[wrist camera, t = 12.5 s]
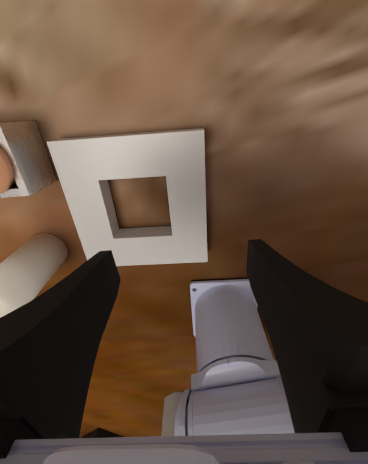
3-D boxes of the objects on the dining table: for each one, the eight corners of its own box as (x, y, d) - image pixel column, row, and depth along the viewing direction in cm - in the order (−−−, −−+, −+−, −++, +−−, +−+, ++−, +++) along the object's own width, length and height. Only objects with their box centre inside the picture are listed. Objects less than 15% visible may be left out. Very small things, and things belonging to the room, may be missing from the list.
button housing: (56, 180, 21) (29, 195, 17) (4, 184, 21) (-33, 199, 17) (35, 120, 18) (-2, 123, 15) (-24, 124, 18) (-73, 128, 15)
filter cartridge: (72, 263, 25) (27, 323, 18) (37, 263, 25) (-21, 323, 18) (62, 232, 23) (7, 286, 16) (24, 233, 23) (-47, 286, 16)
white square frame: (206, 250, 24) (207, 261, 22) (96, 255, 25) (89, 267, 23) (202, 127, 18) (204, 129, 16) (59, 138, 19) (46, 141, 17)
